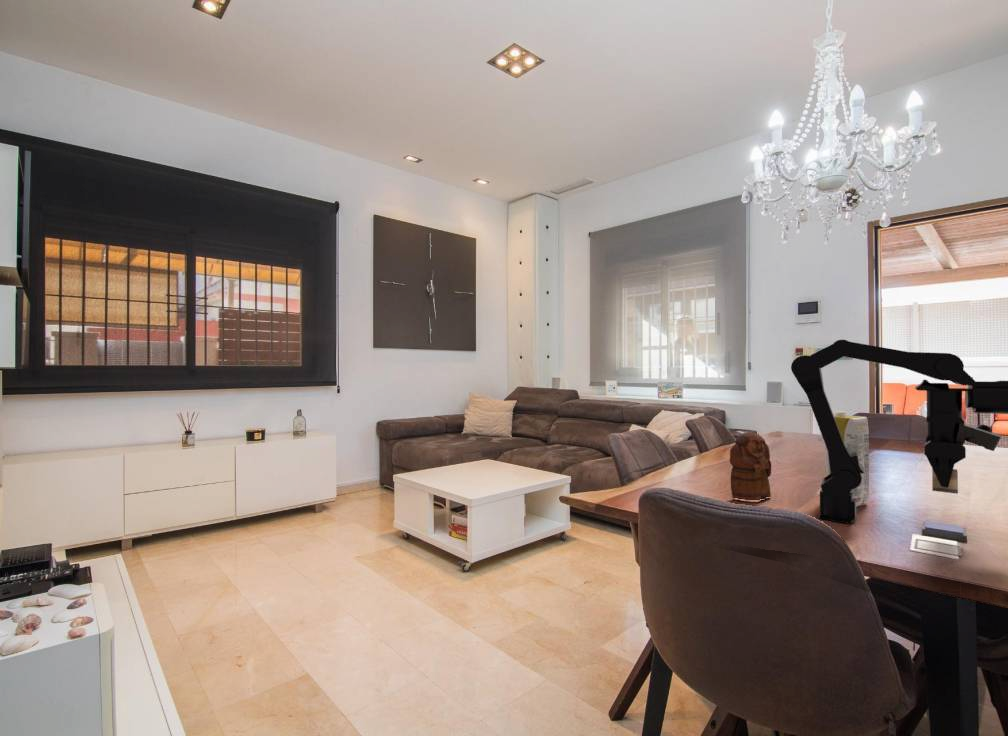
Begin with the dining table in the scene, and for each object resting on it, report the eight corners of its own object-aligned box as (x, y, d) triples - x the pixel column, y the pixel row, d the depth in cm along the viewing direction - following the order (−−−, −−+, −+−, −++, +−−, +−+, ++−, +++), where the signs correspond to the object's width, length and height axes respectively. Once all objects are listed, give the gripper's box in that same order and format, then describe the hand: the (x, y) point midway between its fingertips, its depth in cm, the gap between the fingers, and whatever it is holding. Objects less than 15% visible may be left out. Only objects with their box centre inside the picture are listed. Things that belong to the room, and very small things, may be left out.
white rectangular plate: (910, 550, 97) (910, 549, 97) (912, 534, 106) (912, 533, 106) (961, 560, 92) (961, 558, 92) (959, 542, 101) (959, 541, 101)
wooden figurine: (749, 505, 130) (748, 435, 130) (727, 499, 135) (727, 432, 135) (776, 498, 135) (776, 432, 135) (754, 493, 141) (754, 430, 141)
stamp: (932, 490, 106) (932, 460, 106) (932, 487, 109) (932, 458, 109) (957, 493, 104) (957, 462, 104) (957, 490, 107) (957, 460, 107)
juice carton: (839, 497, 136) (839, 409, 136) (872, 504, 129) (872, 412, 129) (821, 502, 132) (820, 411, 132) (854, 509, 125) (854, 413, 125)
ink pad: (922, 534, 106) (922, 526, 106) (922, 526, 112) (922, 519, 112) (966, 541, 102) (966, 534, 102) (965, 533, 107) (965, 525, 107)
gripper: (1001, 417, 94) (1001, 500, 94) (993, 411, 108) (993, 483, 108) (924, 414, 102) (924, 491, 102) (926, 408, 116) (926, 476, 116)
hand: (944, 485), depth 107 cm, fingers closed on stamp, 4 cm apart
